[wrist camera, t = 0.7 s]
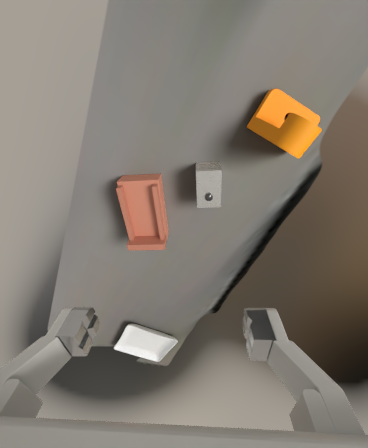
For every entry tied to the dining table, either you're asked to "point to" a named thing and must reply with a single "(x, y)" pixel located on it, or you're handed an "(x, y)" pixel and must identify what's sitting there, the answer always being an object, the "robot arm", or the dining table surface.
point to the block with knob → (208, 184)
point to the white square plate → (145, 342)
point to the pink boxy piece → (143, 211)
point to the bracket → (285, 123)
